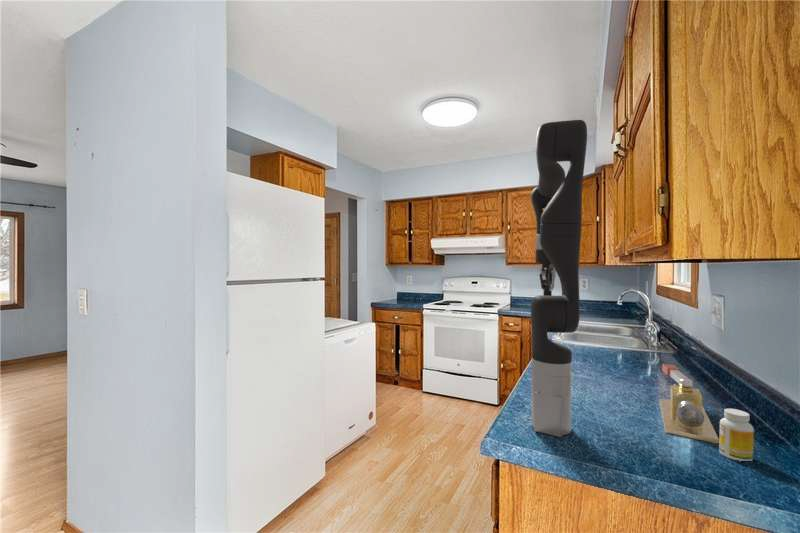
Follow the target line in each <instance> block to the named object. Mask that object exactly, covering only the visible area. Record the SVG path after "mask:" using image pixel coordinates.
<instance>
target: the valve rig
mask: <svg viewBox="0 0 800 533" xmlns="http://www.w3.org/2000/svg"><path fill="white" fill-rule="evenodd" d="M669 392H670V395H669V396H670V399H664V398H659V406H660V412H661V417H662V421H663V422H662V423H663V427H664V428H663V429H664V433H665V434H671V435H675V436H679V437H684V438H685V437H686V438H689V439H694V440H699V441H704V442H709V443H714V444H717V443H719V437H718V435H717V433H716V430H715V428H714V426H713V424H712V422H711V419H710V418H709V416H708V414H707V412H706V410H705V408H704V406H703V395H702V393H701V391H700V389H699V388H694V387H692V388H685V387H681V386H679V383H677V382H676V383H674V384H670V390H669Z"/></svg>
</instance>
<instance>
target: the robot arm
mask: <svg viewBox="0 0 800 533" xmlns="http://www.w3.org/2000/svg"><path fill="white" fill-rule="evenodd" d="M587 143H588V126H587V124H586V122H585V120H584V119H571V120H560V121H551V122H545V123H543V124H541V125H540V126H539V127H538V129H537V133H536V138H535V156H536V164H537V170H538V182H537V186H536V187H535V188H533V190H532V192H531V194H530V200H531V204H532V208H533V210H534V214H535V215H534V216H535V220H536V221H535V222H536V237H535V259H534V260H535V263H536V264H542V265H541V268H540V269H539V275H538V276H539V280H540V287H541V289H542V291H543V295H535V296H534V297H533V298H532V301H531V304H530V324H531V327H530V328H531V406H530V407H531V408H530V409H531V418H530V419H531V421H530V422H531V427H533V431H534V432H537V433H541V434H546V435H550V436H554V437H558V438H562V436H565V435H569V434H571V432H572V372H573V369H572V367H573V365H572V363H573V362H572V360H573V359H572V358H573V354H572V350H571V349H570V348H569V347H567V346H564V345H561V344H558V343H555V342H554V341H553V340H551V339H549V336H548V333H553V334H554V333H558V334H561V333H562V334H572V333H575V332H576V331H577V329H578V327H579V324H580V315H581V314H580V313H581V312H580V309H581V308H580V307H581V306H580V281H579V280H580V278H579V273H580V272H579V267H580V252H581V251H580V250H581V240H582V223H583V222H582V220H583V219H582V217H583V216H582V213H583V212H582V210H583V208H582V207H583V205H582V204H583V185H584V184H583V182H584V170H585V164H586V155H587ZM559 162H560V163H561V162H569V167H568V171H567V173H566V172H565V170H564V168H563V166H562V165H561V164H560V163H559ZM556 274H557V276H558V278H559V279H558V280H559V282H560V286H561V295H553V294H552V291H553V290H554V288H555V280H556Z"/></svg>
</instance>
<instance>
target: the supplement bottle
mask: <svg viewBox="0 0 800 533" xmlns="http://www.w3.org/2000/svg"><path fill="white" fill-rule="evenodd" d="M723 410H724V411H723V415H724V417H722V418H721V419H720V420H719V437H718V438H719V444H718V450H719V453H720V454H721V455H722V456H724V457H725V458H728V459H730V460H734V461H737V460H738V462H741V461H751V462H752V461H753V459H754V438H755V435H754V430H755V429H754V426H753V425H752V424H751V423H749V422H750V419H751V418H750V413H749V412H747V411H743V410H740V409H737V408H725V409H723Z"/></svg>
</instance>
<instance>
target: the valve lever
mask: <svg viewBox="0 0 800 533" xmlns="http://www.w3.org/2000/svg"><path fill="white" fill-rule="evenodd" d="M661 365H662V367H661V368H662V373H663V374H665V375H666V376H668V377H671V379H673V380H674V381H675V382H676V383H679V386H681V387H685V388H693V382H694V381H693V379H691V378H689V377H687V376H686V375H684V373H682V372H681V371H680V369H679V368H678V367H677V366H676V365H675V364H669V363H667V364H665V363H662V364H661Z"/></svg>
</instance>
